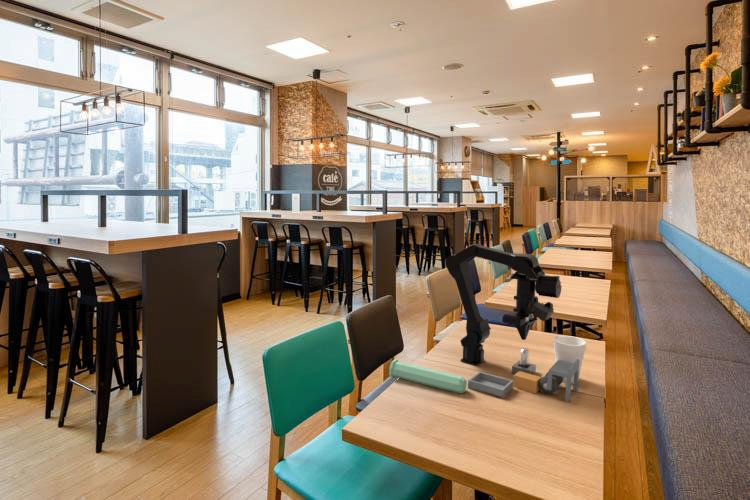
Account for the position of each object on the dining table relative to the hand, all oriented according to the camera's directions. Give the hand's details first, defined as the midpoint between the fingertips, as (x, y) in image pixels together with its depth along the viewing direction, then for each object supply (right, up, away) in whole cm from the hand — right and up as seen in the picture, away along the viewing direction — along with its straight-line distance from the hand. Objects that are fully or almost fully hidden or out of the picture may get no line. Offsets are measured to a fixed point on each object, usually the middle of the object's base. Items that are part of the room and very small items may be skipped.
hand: (523, 339), depth 145 cm
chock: (-2, -13, -8) cm, 16 cm away
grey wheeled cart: (+7, -14, -11) cm, 19 cm away
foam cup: (+13, -13, -2) cm, 19 cm away
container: (-32, -13, -5) cm, 35 cm away
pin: (+1, -12, +3) cm, 12 cm away
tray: (-13, -13, -9) cm, 21 cm away
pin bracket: (+1, -12, +3) cm, 12 cm away
